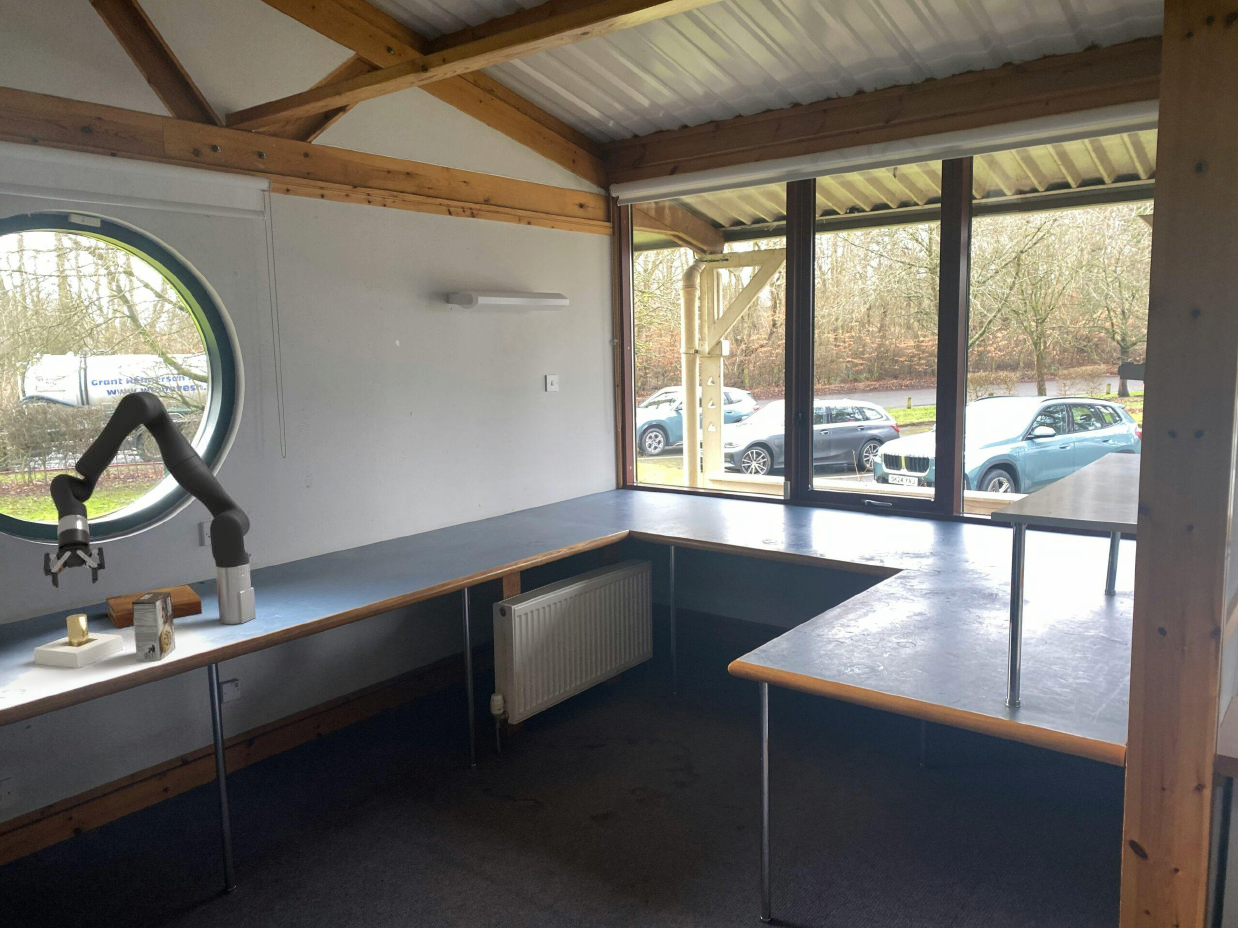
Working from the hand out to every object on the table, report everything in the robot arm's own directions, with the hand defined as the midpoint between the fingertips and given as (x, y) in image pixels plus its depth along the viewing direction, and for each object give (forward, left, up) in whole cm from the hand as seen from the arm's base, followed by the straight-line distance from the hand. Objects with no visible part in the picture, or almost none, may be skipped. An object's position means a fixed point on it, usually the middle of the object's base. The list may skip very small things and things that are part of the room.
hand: (75, 583), depth 234 cm
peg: (-6, +6, -18) cm, 20 cm away
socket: (-6, +6, -18) cm, 20 cm away
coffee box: (-25, 0, -18) cm, 31 cm away
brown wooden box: (+4, -30, -19) cm, 36 cm away
